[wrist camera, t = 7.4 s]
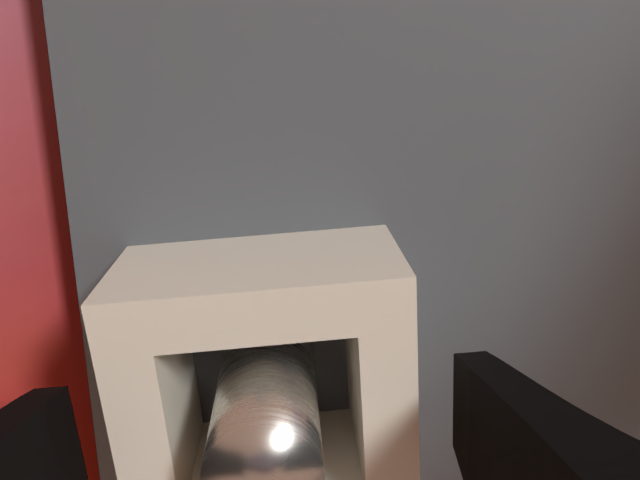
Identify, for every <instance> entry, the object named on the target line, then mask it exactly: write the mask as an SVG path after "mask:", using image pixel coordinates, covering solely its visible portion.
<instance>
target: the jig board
mask: <svg viewBox="0 0 640 480" xmlns="http://www.w3.org/2000/svg"><path fill="white" fill-rule="evenodd" d="M42 5H43V13H44V21H45V30H46V38H47V46H48V54H49V63H50V71H51V79H52V87H53V96H54V104H55V112H56V120H57V128H58V137H59V145H60V153H61V161H62V170H63V178H64V186H65V194H66V203H67V211H68V219H69V227H70V236H71V244H72V252H73V260H74V269H75V277H76V285H77V293H78V301H79V310H80V318H81V326H82V334H83V343H84V351H85V359H86V367H87V376H88V384H89V392H90V400H91V409H92V417H93V425H94V433H95V442H96V450H97V458H98V466H99V475H100V480H117V476H116V471H115V467H114V462H113V457H112V452H111V448H110V443H109V438H108V434H107V429H106V424H105V420H104V415H103V410H102V405H101V401H100V396H99V391H98V387H97V382H96V377H95V372H94V368H93V363H92V358H91V354H90V349H89V344H88V340H87V335H86V330H85V325H84V321H83V316H82V311H81V307H80V306H81V305H82V303H83V302H84V301H85V300H86V298H87V297H88V296H89V294H90V293H91V292H92V291H93V289H94V288H95V287H96V285H97V284H98V283H99V282H100V280H101V279H102V278H103V277H104V275H105V274H106V273H107V271H108V270H109V269H110V268H111V266H112V265H113V264H114V262H115V261H116V260H117V259H118V257H119V256H120V255H121V254H122V252H123V251H124V250H125V248H126V247H127V246H136V245H148V244H160V243H172V242H184V241H196V240H208V239H220V238H232V237H244V236H256V235H268V234H280V233H292V232H304V231H316V230H328V229H340V228H352V227H364V226H376V225H386V226H387V228H388V230H389V231H390V233H391V235H392V236H393V238H394V240H395V241H396V243H397V245H398V247H399V248H400V250H401V252H402V253H403V255H404V257H405V258H406V260H407V262H408V263H409V265H410V267H411V269H412V270H413V272H414V274H415V275H416V280H417V334H418V389H419V444H420V480H463V478H462V475H461V471H460V468H459V465H458V462H457V458H456V455H455V452H454V448H453V362H454V354H455V353H467V352H479V351H487V352H489V353H490V354H492V355H494V356H496V357H497V358H499V359H501V360H502V361H504V362H505V363H507V364H509V365H510V366H512V367H513V368H515V369H516V370H518V371H520V372H521V373H523V374H524V375H526V376H527V377H529V378H531V379H532V380H534V381H535V382H537V383H538V384H540V385H542V386H543V387H545V388H546V389H548V390H550V391H551V392H553V393H555V394H556V395H558V396H559V397H561V398H563V399H564V400H566V401H568V402H569V403H571V404H573V405H575V406H576V407H578V408H580V409H582V410H583V411H585V412H587V413H589V414H590V415H592V416H594V417H596V418H598V419H600V420H602V421H603V422H605V423H607V424H609V425H611V426H613V427H614V428H616V429H618V430H620V431H622V432H624V433H626V434H628V435H630V436H632V437H634V438H636V439H638V440H640V0H42ZM310 343H311V346H312V350H313V360H314V370H315V379H316V389H317V399H318V409H319V411H329V410H340V409H349V395H348V378H347V362H346V346H345V339H337V340H326V341H315V342H310ZM223 352H224V350H216V351H205V352H193V359H194V366H195V372H196V379H197V386H198V392H199V399H200V405H201V412H202V419H203V422H210V419H211V414H212V409H213V404H214V399H215V393H216V388H217V383H218V378H219V373H220V367H221V362H222V357H223Z"/></svg>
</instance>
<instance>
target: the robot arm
mask: <svg viewBox="0 0 640 480" xmlns="http://www.w3.org/2000/svg"><path fill="white" fill-rule="evenodd" d="M453 448H454V452H455V455H456V458H457V462H458V465H459V468H460V471H461V475H462V478H463V480H640V440H638V439H636V438H634V437H632V436H630V435H628V434H626V433H624V432H622V431H620V430H618V429H616V428H614V427H613V426H611V425H609V424H607V423H605V422H603V421H602V420H600V419H598V418H596V417H594V416H592V415H590V414H589V413H587V412H585V411H583V410H582V409H580V408H578V407H576V406H575V405H573V404H571V403H569V402H568V401H566V400H564V399H563V398H561V397H559V396H558V395H556V394H555V393H553V392H551V391H550V390H548V389H546V388H545V387H543V386H542V385H540V384H538V383H537V382H535V381H534V380H532V379H531V378H529V377H527V376H526V375H524V374H523V373H521V372H520V371H518V370H516V369H515V368H513V367H512V366H510V365H509V364H507V363H505V362H504V361H502V360H501V359H499V358H497V357H496V356H494V355H492V354H490V353H489V352H487V351H479V352H467V353H455V354H454V362H453ZM0 480H88V476H87V471H86V467H85V463H84V458H83V454H82V449H81V445H80V440H79V436H78V431H77V427H76V422H75V418H74V413H73V409H72V404H71V400H70V395H69V391H68V386H63V387H51V388H40V389H33V390H31V391H29V392H27V393H26V394H24V395H22V396H20V397H19V398H17V399H15V400H14V401H12V402H11V403H9V404H8V405H6V406H4V407H3V408H1V409H0Z"/></svg>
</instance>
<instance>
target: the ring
mask: <svg viewBox="0 0 640 480" xmlns="http://www.w3.org/2000/svg"><path fill="white" fill-rule="evenodd" d="M80 307H81V311H82V316H83V321H84V325H85V330H86V335H87V340H88V344H89V349H90V354H91V358H92V363H93V368H94V372H95V377H96V382H97V387H98V391H99V396H100V401H101V405H102V410H103V415H104V420H105V424H106V429H107V434H108V438H109V443H110V448H111V452H112V457H113V462H114V467H115V471H116V476H117V480H200V472H201V466H202V461H203V456H204V451H205V446H206V440H207V435H208V430H209V425H210V422H203V419H202V412H201V405H200V399H199V392H198V386H197V379H196V372H195V366H194V359H193V352H205V351H216V350H227V349H238V348H249V347H260V346H271V345H282V344H293V343H304V342H315V341H326V340H337V339H345V346H346V362H347V378H348V395H349V409H340V410H329V411H319V418H320V428H321V438H322V448H323V457H324V467H325V480H420V444H419V389H418V334H417V280H416V275H415V274H414V272H413V270H412V269H411V267H410V265H409V263H408V262H407V260H406V258H405V257H404V255H403V253H402V252H401V250H400V248H399V247H398V245H397V243H396V241H395V240H394V238H393V236H392V235H391V233H390V231H389V230H388V228H387V226H386V225H376V226H364V227H352V228H340V229H328V230H316V231H304V232H292V233H280V234H268V235H256V236H244V237H232V238H220V239H208V240H196V241H184V242H172V243H160V244H148V245H136V246H127V247H126V248H125V250H124V251H123V252H122V254H121V255H120V256H119V257H118V259H117V260H116V261H115V262H114V264H113V265H112V266H111V268H110V269H109V270H108V271H107V273H106V274H105V275H104V277H103V278H102V279H101V280H100V282H99V283H98V284H97V285H96V287H95V288H94V289H93V291H92V292H91V293H90V294H89V296H88V297H87V298H86V300H85V301H84V302H83V303H82V305H81V306H80Z"/></svg>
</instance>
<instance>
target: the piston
mask: <svg viewBox="0 0 640 480" xmlns="http://www.w3.org/2000/svg"><path fill="white" fill-rule="evenodd" d="M200 480H325V467H324V457H323V448H322V438H321V428H320V418H319V409H318V399H317V389H316V379H315V370H314V360H313V350H312V346H311V343H310V342H304V343H293V344H282V345H271V346H260V347H249V348H238V349H227V350H224V352H223V357H222V362H221V367H220V373H219V378H218V383H217V388H216V393H215V399H214V404H213V409H212V414H211V419H210V425H209V430H208V435H207V440H206V446H205V451H204V456H203V461H202V466H201V472H200Z"/></svg>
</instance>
